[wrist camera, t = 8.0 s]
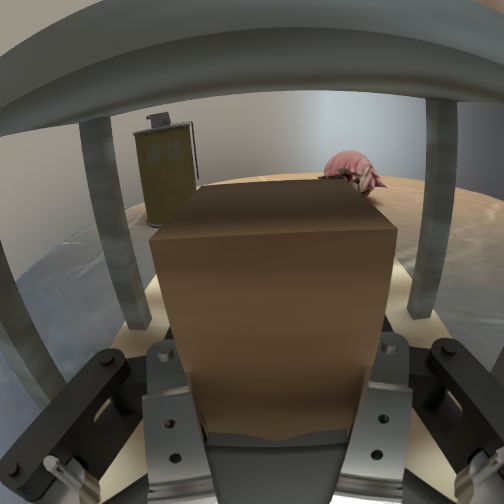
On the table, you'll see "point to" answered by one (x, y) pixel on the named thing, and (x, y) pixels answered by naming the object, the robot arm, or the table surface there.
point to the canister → (165, 167)
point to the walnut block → (276, 301)
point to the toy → (353, 171)
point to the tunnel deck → (236, 82)
